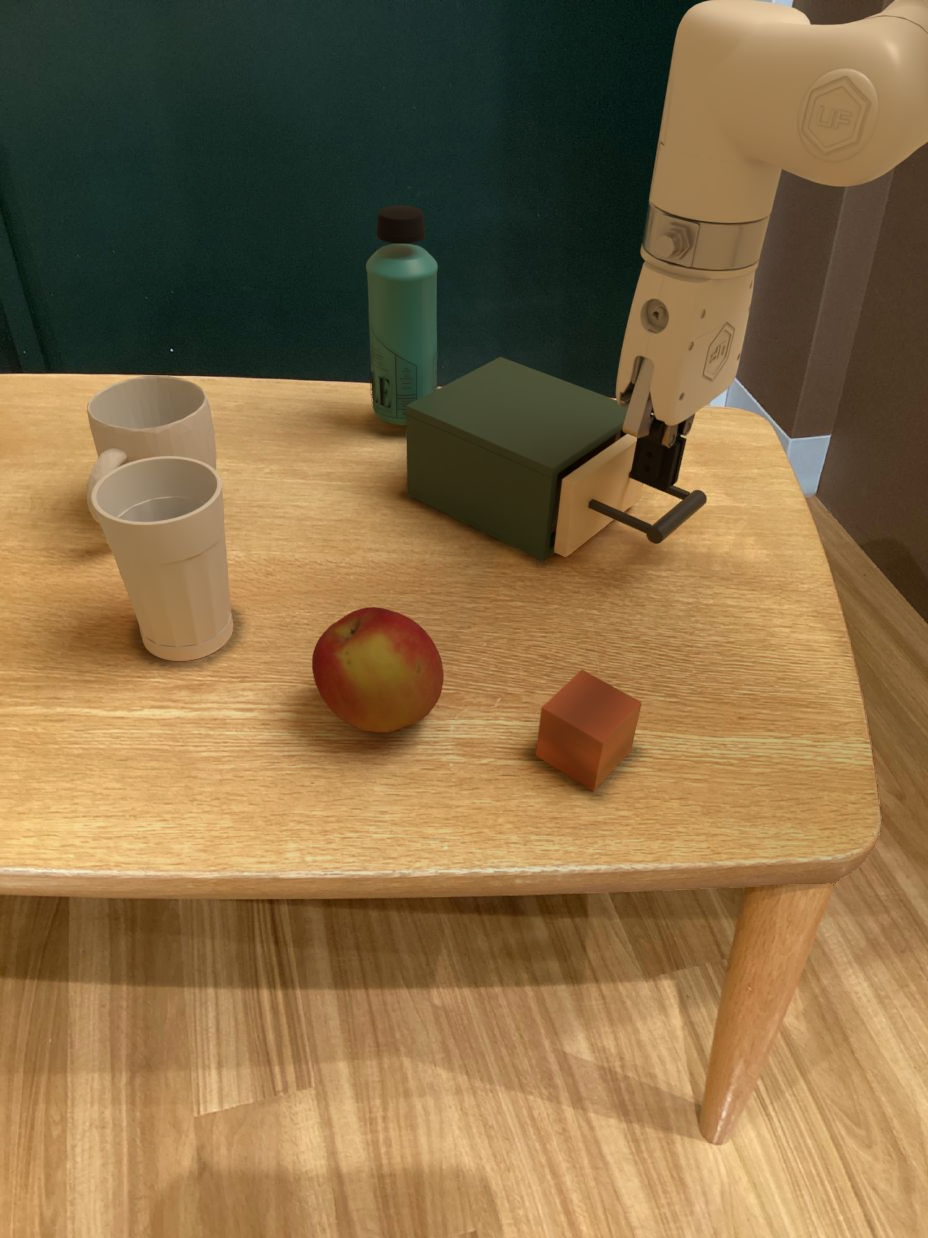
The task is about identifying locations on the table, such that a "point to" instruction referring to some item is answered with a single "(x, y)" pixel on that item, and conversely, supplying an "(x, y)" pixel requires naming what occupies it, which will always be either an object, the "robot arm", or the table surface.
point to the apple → (377, 670)
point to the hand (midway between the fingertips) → (653, 480)
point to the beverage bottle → (401, 314)
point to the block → (587, 729)
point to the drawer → (609, 497)
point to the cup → (170, 552)
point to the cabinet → (504, 448)
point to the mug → (149, 424)
